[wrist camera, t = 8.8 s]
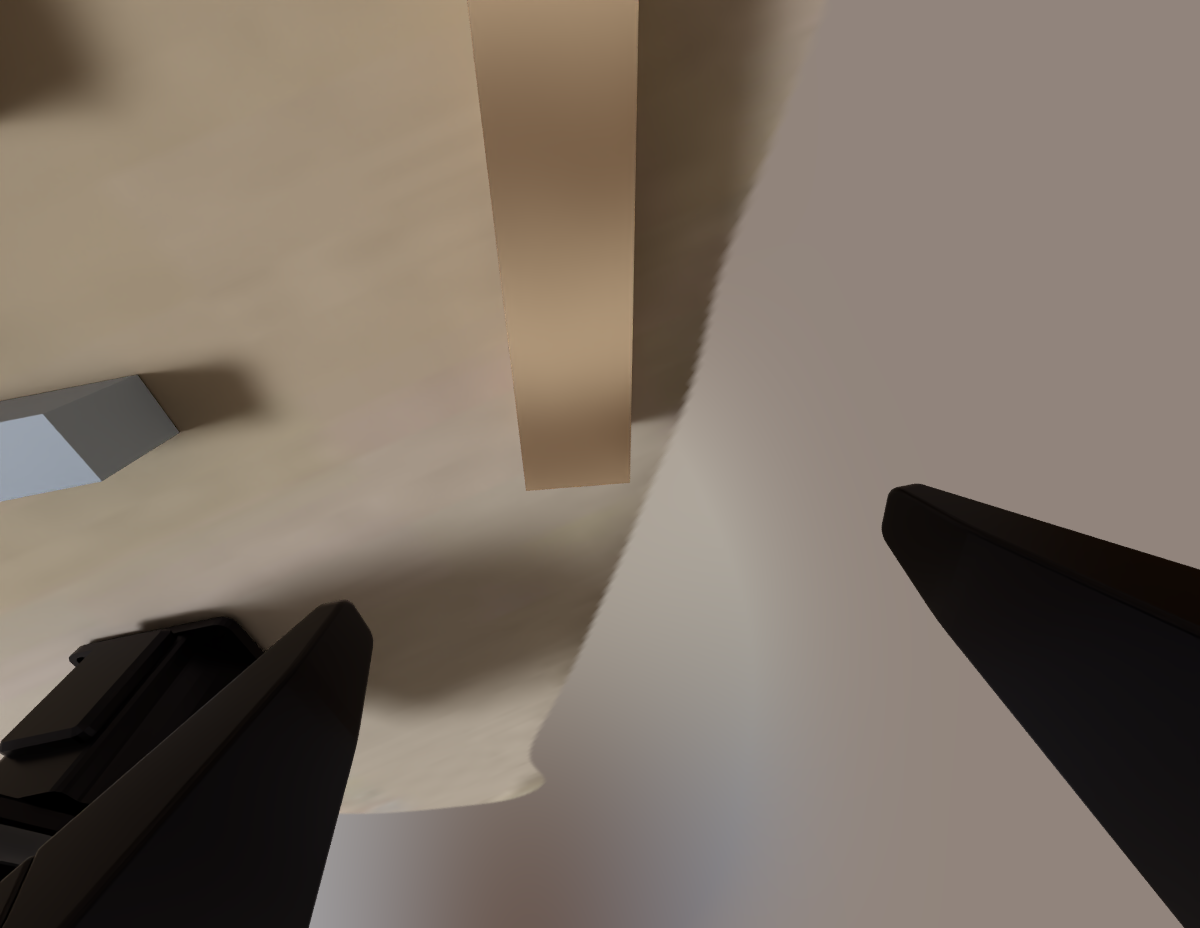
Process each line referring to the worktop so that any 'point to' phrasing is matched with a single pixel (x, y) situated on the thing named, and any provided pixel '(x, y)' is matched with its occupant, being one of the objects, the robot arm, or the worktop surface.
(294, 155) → the worktop surface
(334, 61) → the worktop surface
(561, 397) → the wooden l-shaped bracket
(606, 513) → the worktop surface
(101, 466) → the stop batten
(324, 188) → the worktop surface
